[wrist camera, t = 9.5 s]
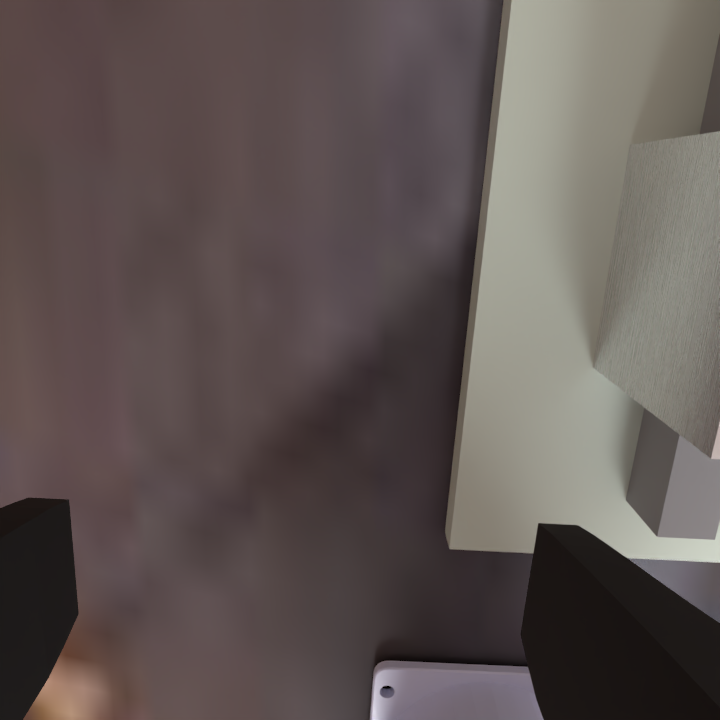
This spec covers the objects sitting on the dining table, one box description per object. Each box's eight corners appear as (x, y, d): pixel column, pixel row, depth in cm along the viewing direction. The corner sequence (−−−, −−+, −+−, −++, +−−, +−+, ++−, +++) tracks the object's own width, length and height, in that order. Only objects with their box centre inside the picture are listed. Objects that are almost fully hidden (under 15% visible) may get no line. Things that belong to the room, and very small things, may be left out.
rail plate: (804, 549, 20) (879, 610, 17) (445, 531, 20) (459, 590, 17) (1023, -177, 14) (1187, -267, 12) (527, -213, 14) (569, -315, 11)
